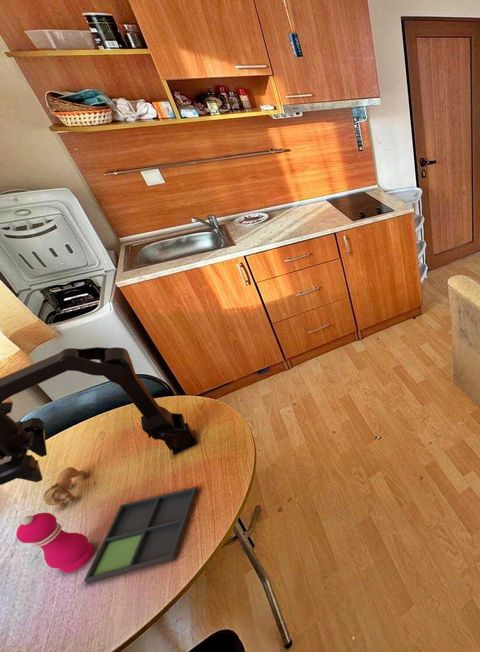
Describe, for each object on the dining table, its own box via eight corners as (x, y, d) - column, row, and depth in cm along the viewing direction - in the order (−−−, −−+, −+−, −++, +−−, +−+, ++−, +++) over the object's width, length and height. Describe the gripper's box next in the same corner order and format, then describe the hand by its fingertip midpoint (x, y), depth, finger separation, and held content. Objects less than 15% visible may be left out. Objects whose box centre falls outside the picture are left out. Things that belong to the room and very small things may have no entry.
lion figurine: (81, 509, 103) (61, 492, 98) (55, 520, 100) (33, 503, 95) (89, 468, 113) (71, 451, 108) (66, 478, 110) (47, 460, 105)
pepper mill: (74, 544, 95) (21, 503, 84) (104, 541, 96) (55, 500, 85) (50, 576, 89) (-10, 537, 78) (82, 573, 90) (27, 534, 79)
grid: (124, 508, 103) (120, 505, 102) (198, 490, 107) (195, 487, 106) (87, 583, 88) (83, 580, 87) (175, 559, 92) (172, 556, 91)
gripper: (-40, 423, 91) (6, 460, 100) (-64, 479, 79) (-10, 516, 88) (23, 400, 97) (61, 437, 105) (9, 450, 84) (54, 487, 93)
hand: (42, 467), depth 98 cm, fingers open, 9 cm apart
